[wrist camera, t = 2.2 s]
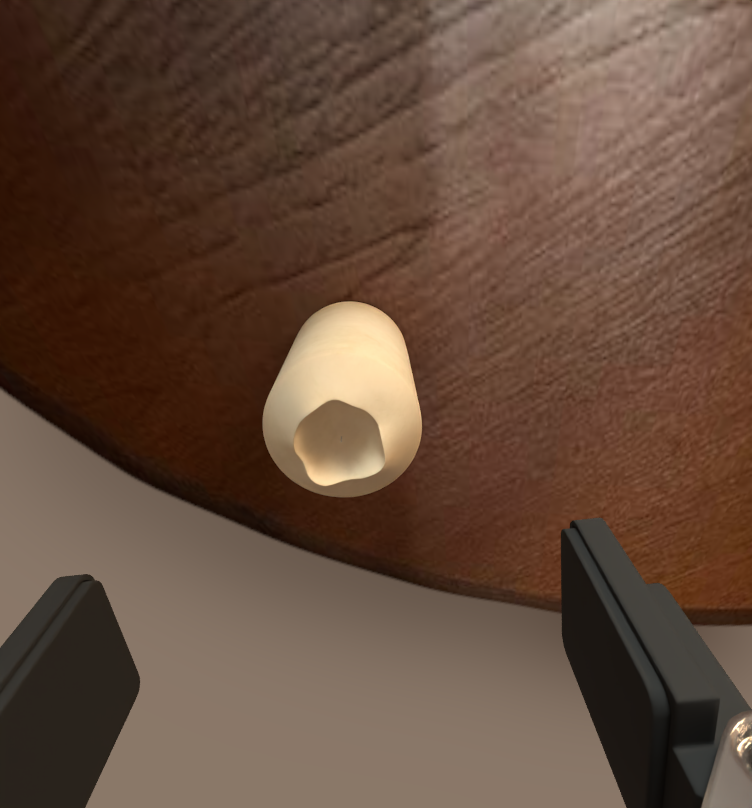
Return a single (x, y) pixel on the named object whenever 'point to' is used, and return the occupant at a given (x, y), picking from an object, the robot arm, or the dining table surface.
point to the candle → (344, 404)
